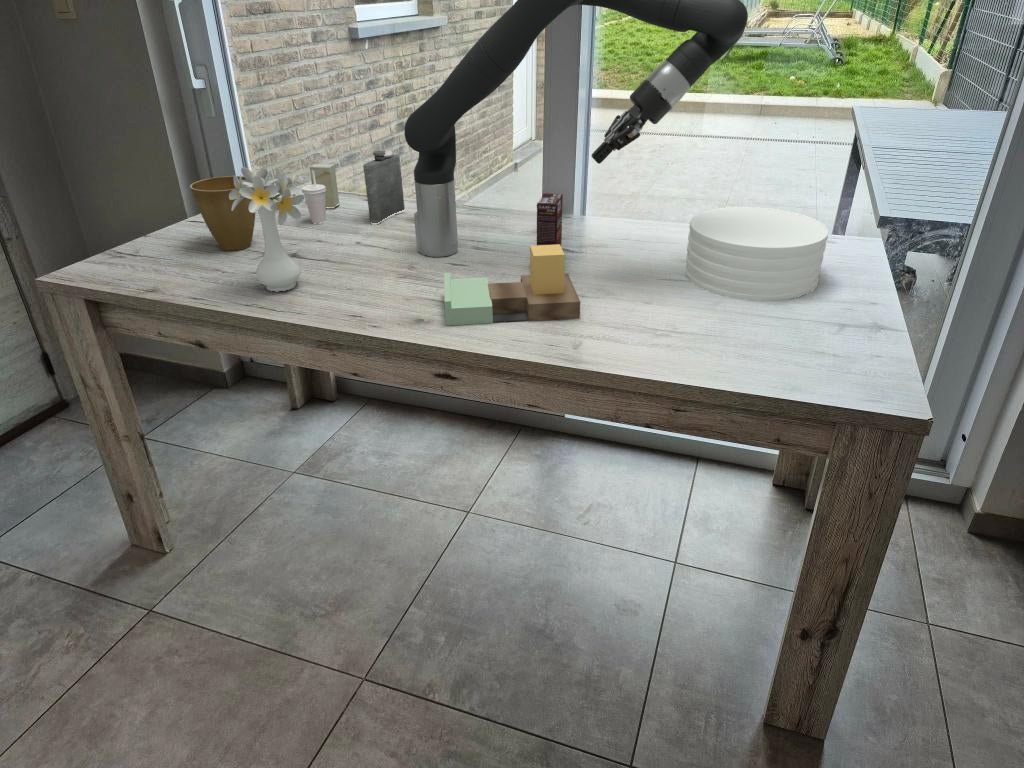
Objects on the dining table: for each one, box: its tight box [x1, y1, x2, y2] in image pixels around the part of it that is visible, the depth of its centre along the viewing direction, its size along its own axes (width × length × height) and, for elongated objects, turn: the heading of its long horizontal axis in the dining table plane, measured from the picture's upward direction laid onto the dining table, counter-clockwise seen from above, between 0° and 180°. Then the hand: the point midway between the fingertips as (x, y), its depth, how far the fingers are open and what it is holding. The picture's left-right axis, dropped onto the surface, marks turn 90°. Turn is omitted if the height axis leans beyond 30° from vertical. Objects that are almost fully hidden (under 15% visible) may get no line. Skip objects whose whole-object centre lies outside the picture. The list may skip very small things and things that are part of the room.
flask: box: [362, 150, 405, 223], centre depth 193 cm, size 4×14×18 cm, turn 153°
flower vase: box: [229, 167, 305, 293], centre depth 147 cm, size 13×18×25 cm
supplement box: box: [536, 192, 564, 246], centre depth 157 cm, size 9×5×16 cm, turn 168°
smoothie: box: [301, 171, 327, 224], centre depth 191 cm, size 6×6×14 cm
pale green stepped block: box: [443, 272, 494, 326], centre depth 141 cm, size 9×15×5 cm, turn 5°
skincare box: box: [309, 163, 340, 207], centre depth 204 cm, size 6×4×12 cm
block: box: [529, 244, 566, 295], centre depth 139 cm, size 6×6×8 cm
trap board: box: [488, 272, 581, 324], centre depth 142 cm, size 17×15×4 cm
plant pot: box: [189, 175, 256, 252], centre depth 174 cm, size 15×15×16 cm
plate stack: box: [684, 206, 829, 301], centre depth 152 cm, size 28×28×12 cm
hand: (594, 160), depth 141 cm, fingers closed
